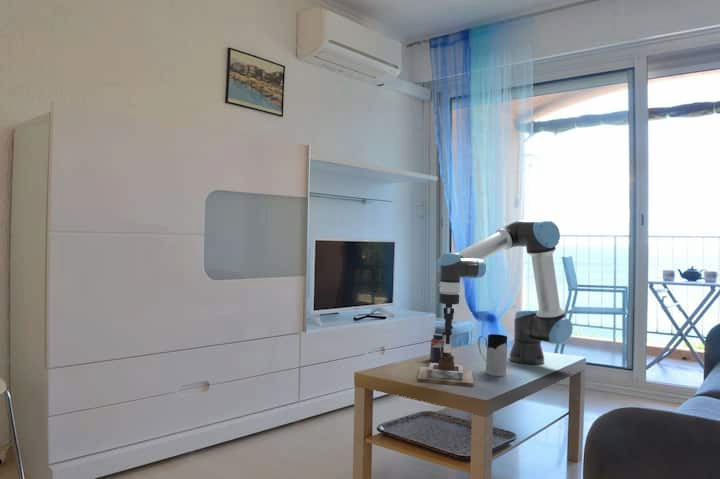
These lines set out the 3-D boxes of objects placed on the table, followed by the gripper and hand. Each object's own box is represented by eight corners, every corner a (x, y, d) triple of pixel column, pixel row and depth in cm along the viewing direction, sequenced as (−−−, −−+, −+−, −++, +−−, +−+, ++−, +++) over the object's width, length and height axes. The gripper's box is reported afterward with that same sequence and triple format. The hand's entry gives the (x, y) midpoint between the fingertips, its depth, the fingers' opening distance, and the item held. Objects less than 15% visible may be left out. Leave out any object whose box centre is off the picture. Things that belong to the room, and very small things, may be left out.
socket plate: (471, 373, 213) (471, 364, 213) (473, 386, 193) (473, 376, 193) (420, 369, 216) (420, 360, 216) (417, 381, 196) (417, 371, 196)
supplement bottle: (427, 360, 235) (428, 334, 235) (433, 358, 240) (434, 332, 240) (440, 362, 231) (441, 336, 232) (445, 360, 236) (447, 334, 237)
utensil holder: (455, 376, 201) (456, 344, 201) (438, 375, 201) (439, 343, 202) (452, 372, 207) (454, 341, 207) (436, 372, 207) (437, 340, 207)
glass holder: (497, 376, 210) (499, 338, 210) (469, 368, 221) (471, 332, 222) (511, 374, 215) (513, 337, 215) (484, 367, 226) (486, 331, 227)
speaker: (449, 363, 228) (448, 339, 228) (452, 367, 222) (451, 342, 222) (431, 364, 228) (430, 340, 228) (434, 368, 222) (433, 343, 222)
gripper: (440, 290, 218) (438, 342, 218) (438, 295, 193) (436, 354, 193) (458, 291, 216) (456, 343, 216) (460, 296, 192) (457, 356, 192)
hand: (447, 349), depth 205 cm, fingers open, 13 cm apart
